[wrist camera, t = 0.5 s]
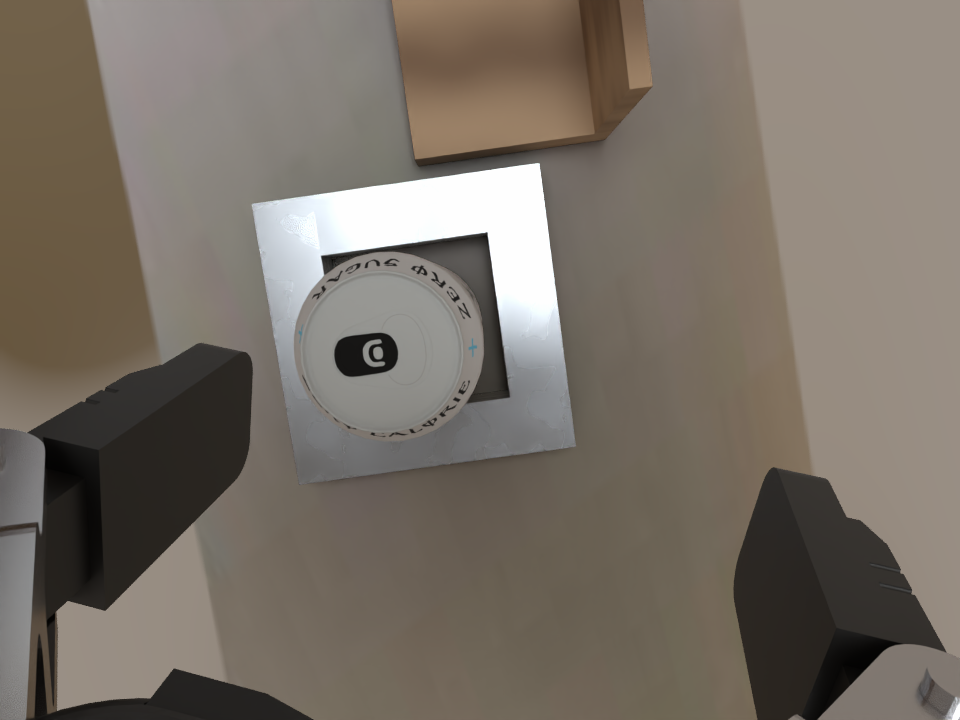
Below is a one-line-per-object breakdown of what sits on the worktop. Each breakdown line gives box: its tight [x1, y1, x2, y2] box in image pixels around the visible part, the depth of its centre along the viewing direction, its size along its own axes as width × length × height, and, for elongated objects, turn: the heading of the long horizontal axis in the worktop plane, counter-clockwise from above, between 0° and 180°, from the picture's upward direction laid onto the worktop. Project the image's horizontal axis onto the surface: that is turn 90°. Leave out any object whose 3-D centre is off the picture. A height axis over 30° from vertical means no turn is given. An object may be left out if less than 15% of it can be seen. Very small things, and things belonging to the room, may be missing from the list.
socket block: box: [252, 163, 576, 485], centre depth 36 cm, size 13×13×2 cm
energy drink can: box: [293, 252, 484, 441], centre depth 30 cm, size 6×6×15 cm
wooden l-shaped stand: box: [392, 0, 653, 166], centre depth 31 cm, size 9×9×10 cm
